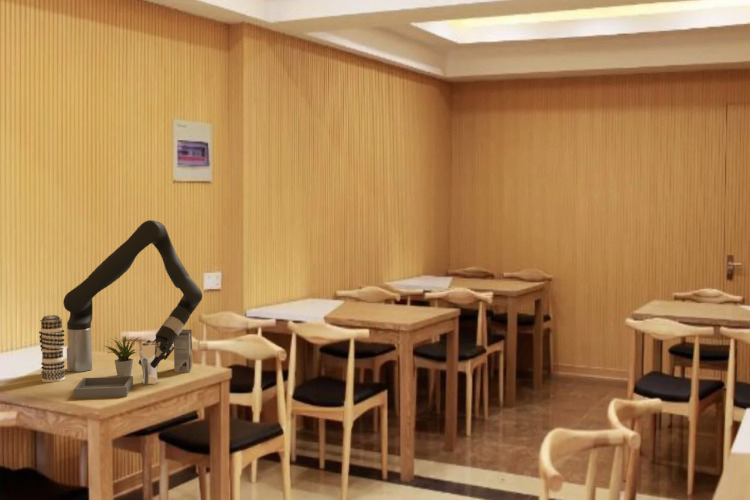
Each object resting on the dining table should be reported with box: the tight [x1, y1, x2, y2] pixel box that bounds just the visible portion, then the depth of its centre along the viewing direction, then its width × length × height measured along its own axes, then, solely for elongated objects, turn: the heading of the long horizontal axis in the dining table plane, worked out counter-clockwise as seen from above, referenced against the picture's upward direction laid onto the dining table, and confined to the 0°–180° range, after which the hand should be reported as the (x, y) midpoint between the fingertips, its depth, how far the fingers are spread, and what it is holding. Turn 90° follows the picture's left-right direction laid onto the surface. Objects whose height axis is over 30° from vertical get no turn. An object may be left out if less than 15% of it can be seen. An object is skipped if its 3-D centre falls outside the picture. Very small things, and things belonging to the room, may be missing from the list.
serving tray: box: [73, 375, 134, 400], centre depth 311 cm, size 18×18×4 cm
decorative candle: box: [38, 314, 66, 383], centre depth 330 cm, size 9×9×25 cm
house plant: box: [104, 335, 141, 377], centre depth 338 cm, size 14×14×16 cm
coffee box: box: [173, 328, 193, 373], centre depth 347 cm, size 9×6×16 cm
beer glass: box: [139, 341, 159, 385], centre depth 324 cm, size 7×7×15 cm
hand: (146, 365), depth 323 cm, fingers closed on beer glass, 6 cm apart
